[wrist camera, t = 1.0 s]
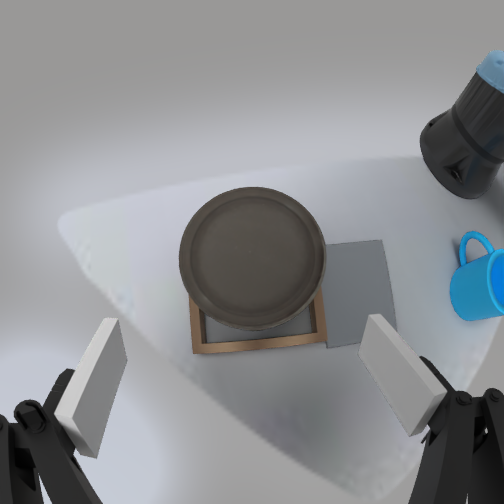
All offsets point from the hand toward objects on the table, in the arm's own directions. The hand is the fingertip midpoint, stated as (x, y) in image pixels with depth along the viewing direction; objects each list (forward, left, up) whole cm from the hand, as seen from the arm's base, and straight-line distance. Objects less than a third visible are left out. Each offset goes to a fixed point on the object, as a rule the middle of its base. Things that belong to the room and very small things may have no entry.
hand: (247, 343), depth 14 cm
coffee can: (-1, -6, -19) cm, 19 cm away
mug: (-31, -3, -19) cm, 36 cm away
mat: (-13, -4, -18) cm, 23 cm away
